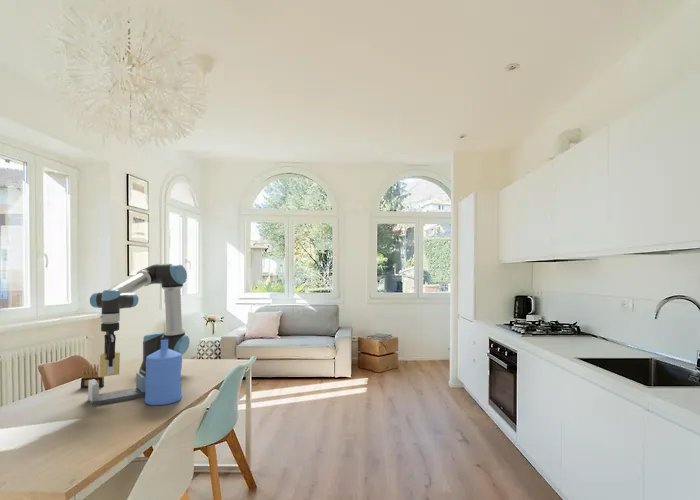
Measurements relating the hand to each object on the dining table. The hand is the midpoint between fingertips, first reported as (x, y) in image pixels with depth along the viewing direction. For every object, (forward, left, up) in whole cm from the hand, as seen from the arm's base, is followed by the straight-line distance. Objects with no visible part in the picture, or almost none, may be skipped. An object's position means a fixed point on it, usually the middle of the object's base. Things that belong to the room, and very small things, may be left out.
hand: (109, 372), depth 195 cm
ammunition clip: (+2, -30, -13) cm, 33 cm away
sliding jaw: (-15, 0, -11) cm, 18 cm away
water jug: (-20, +18, -13) cm, 30 cm away
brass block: (0, 0, -1) cm, 1 cm away
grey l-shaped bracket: (-5, 0, -13) cm, 14 cm away
